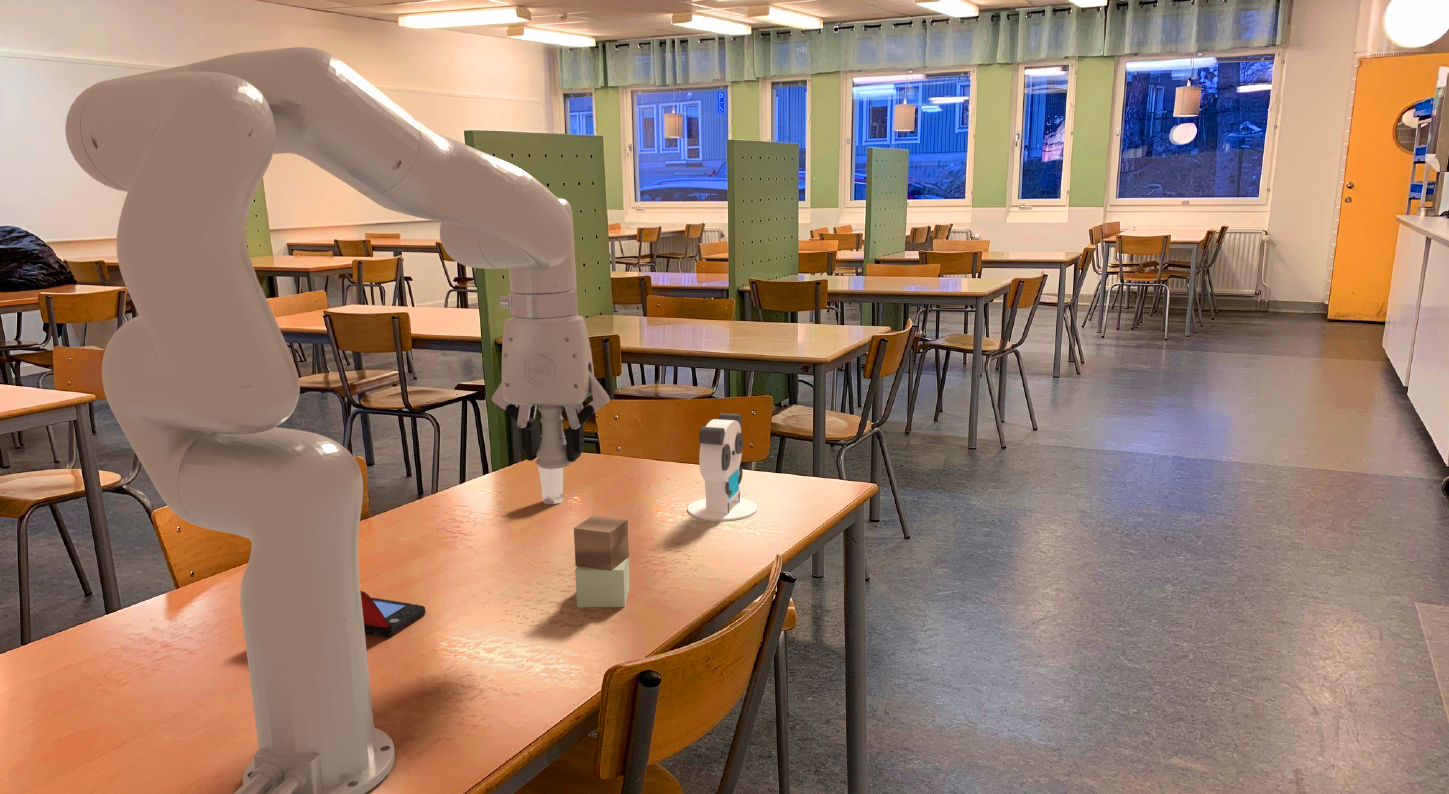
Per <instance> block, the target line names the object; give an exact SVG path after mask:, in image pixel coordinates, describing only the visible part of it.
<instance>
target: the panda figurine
mask: <svg viewBox="0 0 1449 794" xmlns="http://www.w3.org/2000/svg"><path fill="white" fill-rule="evenodd" d="M742 424H743V415H742V414H740V413H726V412H725V413H723V412H720V413H719V415H718V418H717V419H713V418H712V419H711V420H710V421H709V422H707V424H706V425H705V426H701V427H700V429H699V435H698V440H699V444H700V445H699V447H700V448H699V454H698V455H699V457H698V459H699V461H698V463H699V464H698V465H699V471H700V475H701V477H702V479H703V480H704V488H705V489H704V490H705V491H704V493H705V497H704V498H701V499H697V500H694V501H693V502H691V503H689V504H688V506H687V512H688V514H689V515H691V516H692V517H694V518H697V519H701V520H704V521H711V522H731V521H738V520H743V519H747V518H750V517H753V515H755V514H757V512H758V509H759V508H758V505H757V503H756V502H754V501H752V500H751V499H746V498H743V497H741V489H740V484H741V483H742V479H743V474H744V473H743V472H744V471H743V466H741V461H742V454H743V453H742V452H743V450H744V449H743V448H744V436H743V433H742V428H741V426H742Z"/></svg>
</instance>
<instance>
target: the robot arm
mask: <svg viewBox="0 0 1449 794" xmlns="http://www.w3.org/2000/svg"><path fill="white" fill-rule="evenodd" d="M65 118H66V119H65V127H64V131H65V139H66V142H67V146H68V149H69V151H70V154H71V155H72V157H73V158H74V161H75V162H76V163H77V164H78V165H79V167H80V168H81V169H82V170H83V171H84V172H85V173H86V174H88V175H89V176H90V177H91V178H92V179H94V180H96V181H97V182H99V183H101V184H102V185H104V186H106V187H108V188H112V189H113V190H117V191H122V192H126V197H125V199H124V202H123V205H122V209H121V212H120V215H119V220H118V225H117V231H116V232H117V234H116V257H117V262H118V266H119V271H120V273H121V277H122V280H123V282H124V283H123V284H125V288H126V289H127V292H128V294H129V296H130V298H131V301H132V303H133V305H134V307H135V310H136V312H137V316H135V317H132V319H130V320H128V321H125V323H123V324H122V325H121V326H120V327H119V328H118V329H116V331H115V332H114V333H113V335H112V336H111V338H110V339H109V340H108V343H107V345H106V347H105V350H104V353H103V357H102V364H101V379H102V385H103V391H104V395H105V398H106V401H107V403H108V405H109V408H110V410H111V412H112V413H113V416H114V417H115V419H116V421H117V424H119V427H120V428H121V430H122V432H123V433H124V436H125V437H126V439H127V441H128V442H129V444H130V446H131V447H132V449H133V451H134V453H135V454H136V456H137V458H138V460H139V461H140V464H141V466H142V467H143V469H144V470H145V472H146V475H147V476H148V477H149V479H150V481H151V482H152V484H153V486H154V488H155V490H156V491H157V493H158V494H159V496H160V498H161V499H162V500H163V501H164V503H165V504H166V505H167V507H168V508H169V509H170V510H171V511H172V512H173V513H174V514H175V515H176V516H177V517H179V518H180V519H181V520H183V521H185V522H187V523H189V524H191V525H193V526H195V527H196V526H197V527H200V528H202V529H207V530H211V531H216V532H221V533H226V534H230V535H231V534H232V535H235V536H239V537H240V538H241V537H242V538H246V539H249V540H250V542H251V550H250V556H249V559H248V561H247V562H248V563H246V564H247V565H246V567H245V569H244V573H243V575H242V579H241V583H240V591H239V592H240V593H239V595H240V596H239V603H240V604H239V605H240V613H241V621H242V625H243V627H242V628H243V634H244V643H245V650H246V658H247V666H248V675H249V681H250V690H251V696H252V705H253V713H254V721H255V731H256V737H257V738H256V739H257V745H258V750H257V751H256V752H254V754H253V755H252V756H253V759H252V761H250V763H249V764H248V766H247V767H246V769H245V771H244V773H243V776H242V778H243V779H242V785H241V787H240V788H238V790H236V791H235V792H234V793H233V794H366V793H367V792H369V791H370V790H372V789H373V788H375V787H376V786H378V784H380V783H381V782H382V781H383V780H384V779H385V778H387V777H386V776H387V775H388V774H389V773H390V772H391V771H392V768H393V766H394V763H395V758H396V755H395V754H396V753H395V745H394V741H393V739H392V738H391V736H389V734H387V733H386V732H384V731H383V730H381V729H379V728H377V727H375V726H374V725H375V723H374V716H373V715H374V713H373V705H372V704H373V701H372V695H371V694H372V692H371V683H370V673H369V661H368V652H367V642H366V641H367V640H366V634H365V629H364V619H363V609H362V601H361V591H362V590H361V584H360V583H361V582H360V571H359V569H360V568H359V534H360V533H359V530H360V521H361V515H362V506H363V497H364V482H363V476H362V475H363V474H362V471H361V469H360V466H359V464H358V461H356V460H357V459H356V458H355V457H354V456H353V454H352V453H351V452H350V451H349V450H348V449H347V448H346V447H344V446H343V445H342V444H341V443H339V442H338V441H336V440H334V439H333V438H330V437H328V436H325V435H322V434H319V433H315V432H310V431H307V430H300V429H293V428H284V427H278V426H280V425H281V424H283V423H285V422H286V421H287V420H288V419H289V418H290V417H291V415H292V414H294V412H295V409H296V408H297V405H298V401H299V398H300V393H301V390H300V389H301V388H300V386H301V385H300V379H299V372H298V370H297V367H296V364H295V362H294V360H293V357H292V354H291V352H290V349H289V346H288V345H287V343H286V340H285V338H284V335H283V333H282V331H281V329H280V327H279V324H278V322H277V319H276V318H275V315H274V313H273V310H272V308H271V306H270V304H269V302H268V299H267V297H266V295H265V293H264V291H263V288H262V286H261V284H260V282H259V279H258V276H257V274H256V271H255V267H254V265H253V262H252V259H251V256H250V253H249V249H248V246H247V244H248V243H247V225H248V224H247V223H248V216H249V212H250V210H251V209H250V208H251V204H252V202H253V200H254V197H255V194H256V192H257V191H258V187H259V185H260V184H261V181H262V180H263V177H264V176H265V174H266V172H267V170H268V168H269V167H270V164H271V161H272V159H273V156H274V155H277V154H278V155H280V154H290V155H291V154H292V155H298V156H299V157H303V158H304V159H306V160H308V161H309V162H311V163H313V164H315V165H316V166H318V167H319V168H321V169H322V170H324V171H326V172H327V173H329V174H331V175H332V176H333V177H335V178H337V179H338V180H340V181H342V183H345V184H346V185H348V186H349V187H351V188H353V189H354V190H356V191H357V192H359V193H360V194H362V195H363V196H365V197H366V198H368V199H369V200H371V201H373V202H374V203H375V204H377V205H379V206H381V207H383V208H385V209H387V210H389V211H393V212H395V213H396V212H397V213H400V214H404V215H407V216H412V217H414V218H415V217H416V218H418V219H425V220H430V221H431V220H432V221H437V222H440V225H439V239H440V242H441V245H442V247H443V250H444V251H445V253H446V254H447V255H448V256H449V257H450V258H451V259H452V260H453V261H454V262H456V263H458V264H459V265H460V264H461V265H462V266H465V267H469V268H472V269H474V268H475V269H486V270H487V269H493V270H494V269H495V270H503V269H504V270H505V269H508V276H509V290H510V292H508V294H507V295H505V296H504V295H503V296H501V297H500V298H499V306H500V307H501V308H502V309H508V310H509V311H510V312H509V314H510V315H511V317H510V318H509V317H508V318H506V319H505V320H504V327H503V334H502V347H501V382H500V383H499V385H498V387H496V388H497V389H496V390H495V391H494V394H493V395H492V396H491V401H492V402H493V403H494V404H495V405H497V406H498V407H499V408H501V409H502V410H504V411H505V412H506V414H508V415H509V416H510V417H511V419H513V421H515V422H516V424H517V427H519V428H521V440H522V451H523V452H525V453H526V460H527V462H530V461H531V462H532V461H535V459H537V456H536V451H537V449H538V448H539V444H540V442H541V427H540V424H539V422H538V421H536V414H537V407H538V406H564V409H565V413H566V416H567V420H568V427H567V429H566V430H565V440H566V446H567V460H568V461H569V462H571V463H574V462H575V461H577V459H579V457H581V455H582V454H583V453H584V450H585V439H584V438H585V437H584V424H585V423H586V422H587V421H588V420H589V419H590V418H591V416H593V415H594V413H596V412H597V411H599V410H600V409H602V408H603V407H604V406H605V405H607V404H608V403H610V400H611V398H610V395H609V394H608V393H607V391H606V390H605V389H604V388H603V386H602V385H601V384H600V382H599V381H598V380H597V378H596V377H595V372H594V363H593V362H594V361H593V355H592V348H591V343H590V339H589V334H588V330H587V325H586V322H585V318H584V316H582V315H579V311H578V308H579V307H578V306H579V305H578V289H577V287H578V286H577V274H576V273H577V271H576V269H577V268H576V255H575V253H576V252H575V238H574V237H575V235H574V233H575V232H574V217H573V209H572V205H571V204H570V203H569V201H567V199H566V198H562V197H557V196H556V195H555V194H553V192H551V191H550V190H549V189H548V187H547V186H544V185H543V184H542V183H541V182H540V181H539V180H538V179H536V178H535V177H534V176H532V175H531V174H530V173H528V172H527V171H525V170H523V169H522V168H519V166H516V165H514V164H512V163H510V162H508V161H506V160H503V159H501V158H499V157H496V156H494V155H491V154H489V153H487V152H483V151H482V150H480V149H477V148H476V147H475V148H474V147H472V146H470V145H467V144H465V143H464V142H460V141H459V140H455V139H453V138H449V137H447V136H445V135H441V134H439V133H437V132H435V131H433V130H431V129H430V128H429V127H427V126H426V125H425V124H423V123H422V122H421V121H419V120H418V119H416V118H415V117H414V116H413V115H412V114H410V113H409V112H408V111H406V110H405V109H404V108H403V107H401V106H400V105H399V104H398V103H396V102H395V101H394V100H392V99H391V98H390V97H389V96H387V94H385V93H384V92H382V91H381V90H380V89H378V88H377V87H376V86H375V85H373V84H372V83H371V82H369V81H368V79H366V78H365V77H363V75H361V74H360V73H359V72H357V70H355V69H354V68H352V67H351V66H349V65H348V64H346V63H345V62H344V61H342V59H340V58H338V57H336V56H335V55H333V54H331V53H329V52H327V51H325V50H322V49H318V48H314V47H306V46H299V47H298V46H295V47H293V46H292V47H285V48H284V47H283V48H274V49H267V50H266V49H265V50H256V51H254V50H253V51H245V52H237V53H234V54H233V53H231V54H228V55H223V56H218V57H214V58H210V59H206V60H201V61H198V62H192V63H188V64H184V65H178V66H175V67H170V68H165V69H158V70H152V71H149V72H143V73H138V74H134V75H133V74H132V75H127V76H124V77H123V76H122V77H118V78H112V79H106V80H102V81H99V82H97V83H94V84H93V85H91V86H89V87H88V88H86V89H85V90H83V91H82V92H81V93H80V94H78V95H77V97H76V98H75V100H74V101H73V102H72V104H71V105H70V107H69V110H68V113H67V115H66V117H65ZM591 396H592V401H590V402H589V403H588V404H587V405H585V406H584V405H583V402H584V401H585V400H586V399H588V397H591Z"/></svg>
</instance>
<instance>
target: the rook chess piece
mask: <svg viewBox="0 0 1449 794" xmlns="http://www.w3.org/2000/svg"><path fill="white" fill-rule="evenodd" d="M564 409H565V407H564V406H537V408H536V410H538V412H539V413H540V415H541V417H540V419H539V422H540V423H541V434H540V440H541V442H540V444H539V448H538V449H537V451H536V456H537V457H538V459H537V457H536V460H535V464H537V467H538V466H539V467H541V468H545V469H557V468H563V467H564V468H566V467H568V466H570V465H571V463H572V462H569V461H568V460H567V446H566V436H565V432H564V427H563V420H564V417H563V415H562V412H563V410H564Z"/></svg>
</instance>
